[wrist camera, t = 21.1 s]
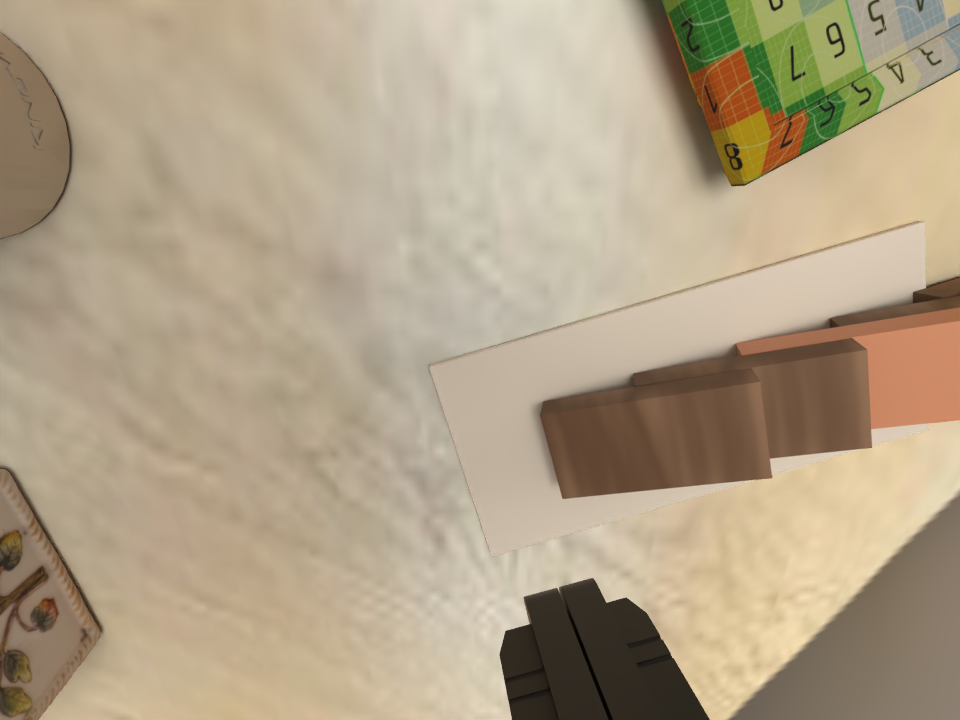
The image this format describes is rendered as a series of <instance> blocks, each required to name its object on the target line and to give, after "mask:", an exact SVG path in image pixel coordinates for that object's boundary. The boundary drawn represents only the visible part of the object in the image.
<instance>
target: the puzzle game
mask: <svg viewBox="0 0 960 720" xmlns="http://www.w3.org/2000/svg"><path fill="white" fill-rule="evenodd" d="M662 3H663V6H664V9H665V11H666V14H667V17H668V20H669V23H670V25H671V28H672V31H673V34H674V37H675V39H676V42H677V45H678V48H679V51H680V54H681V56H682V59H683V62H684V65H685V68H686V70H687V73H688V76H689V79H690V82H691V85H692V87H693V90H694V93H695V96H696V99H697V101H698V104H699V105H700V106H701V107H702V110H703V113H704V116H705V118H706V121H707V124H708V127H709V130H710V133H711V135H712V138H713V141H714V144H715V147H716V149H717V152H718V155H719V158H720V161H721V163H722V167H723V170H724V172H725V174H726V176H727V178H728V180H729V182H730V184H731V185H732V186H745V185H747V184H749V183H750V182H752V181H754V180H756V179H758V178H760V177H762V176H763V175H765V174H767V173H769V172H771V171H773V170H775V169H776V168H778V167H780V166H782V165H784V164H786V163H788V162H789V161H791V160H793V159H795V158H797V157H799V156H801V155H802V154H804V153H806V152H808V151H810V150H812V149H814V148H815V147H817V146H819V145H821V144H823V143H825V142H827V141H828V140H830V139H832V138H834V137H836V136H838V135H840V134H841V133H843V132H845V131H847V130H849V129H851V128H853V127H854V126H856V125H858V124H860V123H862V122H864V121H866V120H867V119H869V118H871V117H873V116H875V115H877V114H879V113H880V112H882V111H884V110H886V109H888V108H890V107H892V106H893V105H895V104H897V103H899V102H901V101H903V100H905V99H906V98H908V97H910V96H912V95H914V94H916V93H918V92H920V91H921V90H923V89H925V88H927V87H929V86H931V85H933V84H934V83H936V82H938V81H940V80H942V79H944V78H946V77H947V76H949V75H951V74H953V73H955V72H957V71H959V70H960V0H662Z"/></svg>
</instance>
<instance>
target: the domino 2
mask: <svg viewBox="0 0 960 720" xmlns="http://www.w3.org/2000/svg"><path fill="white" fill-rule="evenodd" d="M750 368H752V370H753V371H754V373H755V374H756V376H757V378H758V379H759V381H760V383H761V391H762V400H763V408H764V416H765V424H766V432H767V440H768V448H769V456H770V459H772V458H781V457H790V456H800V455H809V454H818V453H828V452H837V451H846V450H856V449H865V448H872V435H871V415H870V394H869V374H868V353H867V349H866V348H865V347H863V346H862V345H861V344H859V343H858V342H857V341H855V340H854V339H853V338H849V339H842V340H836V341H830V342H824V343H818V344H812V345H806V346H799V347H793V348H787V349H781V350H775V351H769V352H762V353H756V354H750V355H744V356H738V357H732V358H726V359H719V360H713V361H707V362H701V363H695V364H689V365H683V366H676V367H670V368H664V369H658V370H652V371H646V372H640V373H633V375H634V385H635V387H637V386H643V385H649V384H655V383H662V382H668V381H674V380H681V379H687V378H693V377H699V376H706V375H712V374H718V373H725V372H731V371H737V370H743V369H750Z"/></svg>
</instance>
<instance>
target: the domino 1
mask: <svg viewBox="0 0 960 720" xmlns="http://www.w3.org/2000/svg"><path fill="white" fill-rule="evenodd" d="M540 418H541V421H542V425H543V429H544V432H545V436H546V440H547V444H548V447H549V451H550V455H551V458H552V462H553V466H554V470H555V473H556V477H557V481H558V484H559V488H560V492H561V496H562V499H569V498H579V497H588V496H598V495H608V494H618V493H628V492H638V491H648V490H658V489H668V488H678V487H688V486H698V485H708V484H718V483H728V482H738V481H748V480H758V479H768V478H772V472H771V464H770V456H769V448H768V440H767V432H766V424H765V416H764V408H763V400H762V391H761V383H760V381H759V379H758V378H757V376H756V374H755V373H754V371H753V370H752V368H750V369H743V370H737V371H731V372H725V373H718V374H712V375H706V376H699V377H693V378H687V379H681V380H674V381H668V382H662V383H655V384H649V385H643V386H637V387H630V388H624V389H618V390H612V391H605V392H599V393H593V394H586V395H580V396H574V397H568V398H561V399H555V400H549V401H543V405H542V409H541V413H540Z"/></svg>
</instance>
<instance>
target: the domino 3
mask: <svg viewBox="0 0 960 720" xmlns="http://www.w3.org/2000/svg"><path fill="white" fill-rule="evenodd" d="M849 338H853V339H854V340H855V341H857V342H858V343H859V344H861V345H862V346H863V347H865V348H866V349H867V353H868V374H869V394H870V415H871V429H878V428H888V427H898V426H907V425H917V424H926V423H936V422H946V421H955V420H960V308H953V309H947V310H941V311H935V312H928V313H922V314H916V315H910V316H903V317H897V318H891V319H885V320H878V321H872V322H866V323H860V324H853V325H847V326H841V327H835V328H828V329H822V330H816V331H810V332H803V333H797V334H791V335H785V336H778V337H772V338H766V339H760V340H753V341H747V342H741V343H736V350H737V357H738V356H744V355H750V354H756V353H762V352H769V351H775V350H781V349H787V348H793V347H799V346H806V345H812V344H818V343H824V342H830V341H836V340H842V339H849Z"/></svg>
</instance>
